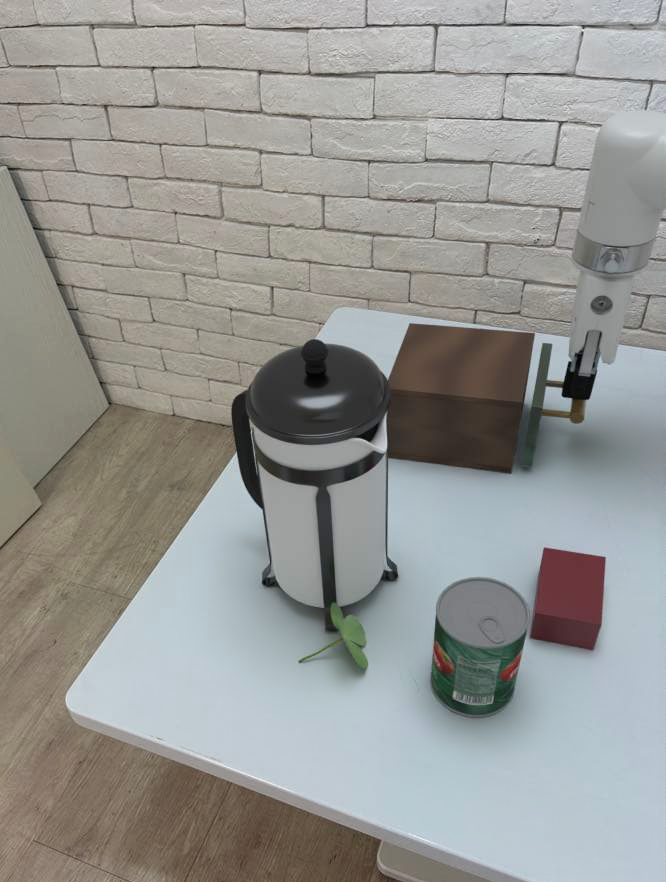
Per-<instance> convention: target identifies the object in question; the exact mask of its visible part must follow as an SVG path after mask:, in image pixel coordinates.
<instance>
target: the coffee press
mask: <svg viewBox="0 0 666 882" xmlns="http://www.w3.org/2000/svg"><path fill="white" fill-rule="evenodd" d="M390 399H391V390H390V385H389V382H388V378H387V376H386V375H385V373H384V372H382V370H381V369H380V368H379V366H378V364H377V363H376V362H375V361H374V360H373V359H372V358H370V357H369V356H368V355H367V354H365V353H363V352H362V351H360V350H358V349H355V348H353V347H350V346H347V345H342V344H337V343H326V342H325V343H324V341H322V340H320V339H317V338H312V339H309V340H307V341H306V342H305V343H304V344H302V345H298V346H295V347H292V348H289V349H286V350H284V351H282V352H280V353H278V354H276V355H274V356H273V357H271V358H270V359H268V360H267V361H266V362H265V363H264V364H262V366H260V367H259V370H258V371H257V372H256V373H255V376H254V378H253V380H252V382H250V384H249V386H248V388H247V389H246V390H245V389H244V391H242V392H240V393H239V394H237V395H236V396H235V397H234V399H233V401H232V402H231V410H230V413H231V414H230V415H231V422H232V423H231V425H232V432H233V438H234V444H235V445H234V446H235V451H236V457H237V462H238V467H239V472H240V473H239V474H240V476H241V480H242V483H243V485H244V487H245V489H246V491H247V493H248V494H249V496H250V498H251V500H252V501H253V502H254V504H256V505H257V507H259V509H261V510H262V516H263V523H264V530H265V537H266V545H267V552H268V560H269V563H268V565H266V567H265V568H264V569H263V571H262V572H261V584H262V586H264V587H267V588H272V587H275V585H277V584H278V585H279V587H280V589H282V591H284V593H285V594H287V595H288V596H289V597H290V598H292V599H294V600H295V601H297V602H299V603H301V604H303V605H306V606H310V607H315V608H321V609H322V608H323V612H324V628H325V631H339V630H338V629H337V628H336V627H335V626H334V624H333V621H332V617H331V605H332V603H333V602H335V603H336V604H337V605H338V606H339V607H340V608H341V607H344V606H349V605H352V604H354V603H357V602H359V601H360V600H362V599H363V598H365V597H366V596H368V595H369V594H370V593H372V592H373V590H374V589H375V588H376V587H377V586H378V584H379V583H380V580H381V579H383V580H385V581H388V582H393V581H396V580H398V579H399V570H398V569H399V568H398V565H397V563H395V562H394V561H393V560H392V559H390V557H389V556H388V539H389V538H388V536H389V535H388V530H389V529H388V527H389V525H388V523H389V521H388V519H389V516H388V515H389V458H388V419H387V410H388V408H389V405H390ZM251 423H252V427H251ZM385 560H386V565H387V567H388V568H389V569H390V570H386V569H385ZM272 569H273V574H274V575H273V576H270V577H268V576H269V575H270V573H271V572H272Z"/></svg>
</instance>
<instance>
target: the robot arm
mask: <svg viewBox="0 0 666 882" xmlns="http://www.w3.org/2000/svg"><path fill="white" fill-rule="evenodd" d="M589 166H590V167H589V171H588V176H587V180H586V184H585V185H586V186H585V190H584V194H583V200H582V205H581V209H580V212H579V213H580V214H579V219H578V224H577V228H576V232H575V236H574V237H575V238H574V242H573V247H572V251H571V255H570V261H571V263H572V265H573V266H574V267H575V268H576V269H577V270H579V275H578V280H577V285H576V289H575V295H574V300H573V305H572V312H571V318H570V330H569V340H568V358H569V359H570V360H568V361H567V365H566V370H565V374H564V378H563V382H564V383H563V387H562V388H561V397H562V398H565V399H571V400H572V399H581V400H586V401H589V400H590V399H591V396H592V393H593V388H594V385H595V381H596V379H597V378H596V377H597V374H598V365H599V362H600V357H601V362H602V364H607V365H612V364H613V363H614V362H615V361H616V357H617V354H618V353H617V352H618V349H619V344H620V340H621V336H622V333H623V329H624V324H625V320H626V317H627V314H628V309H629V305H630V300H631V296H632V291H633V287H634V282H635V276H637V275H639V274H642V273H643V272H645V270H646V269H647V268H648V266H649V262H650V259H651V256H652V252H653V249H654V245H655V242H656V238H657V234H658V231H659V228H660V224H661V221H662V217H663V213H664V211H666V112H663V111H659V110H652V109H633V110H626V111H621V112H618V113H616V114H613V115H611V116H610V117H608V118H606V120H605V121H604V122H603V123H602V125H601V126H600V128H599V130H598V132H597V135H596V139H595V142H594V148H593V153H592V156H591V161H590V165H589Z"/></svg>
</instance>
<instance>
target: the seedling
mask: <svg viewBox="0 0 666 882" xmlns="http://www.w3.org/2000/svg"><path fill="white" fill-rule="evenodd" d="M331 617H332V621H333V624H334V626H335V627H336V628H337V629H338V630H337V631H338V632H339V633H340V634H341V637H340V638H339V639H337V640H335V641H333V642H331V643H330V644H328V645H326V646H325V647H323V648H322V649H319V650H318V651H316V652H314V653H312V654H310V655H308V656H305V657H303V658H301V659H299V660H298V663H302V662H304V661H306V660H308V659H310V658H312V657H315V656H316V655H319V654H321V653H322V652H324V651H326V650H327V649H329V648H330V647H332V646H334V645H336V644H338V643H340V642H342V641H344V643H345V645H346V647H347V649H348V651H349V653H350V654H351V656H352V658H353V659H354V661H355V663H356V664H357V665H358V666H359V667H360V668H363V669H367V667H368V666H369V662H368V658H367V656H366V654H365V652H364V650H362V648H360V647H359V646H358V645H360V646H363V647H365V646H366V645H367V639H366V632H365V629H364V627H363V625H362V623H361V621H360V620H359V619H358V618H357V617H356V616H355V615H353V614H348V615H346V616H345V617H344V614H343V611H342V609H341V607H339V606H338V605H337V604H336V603H335V602H333V603H332V605H331Z"/></svg>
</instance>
